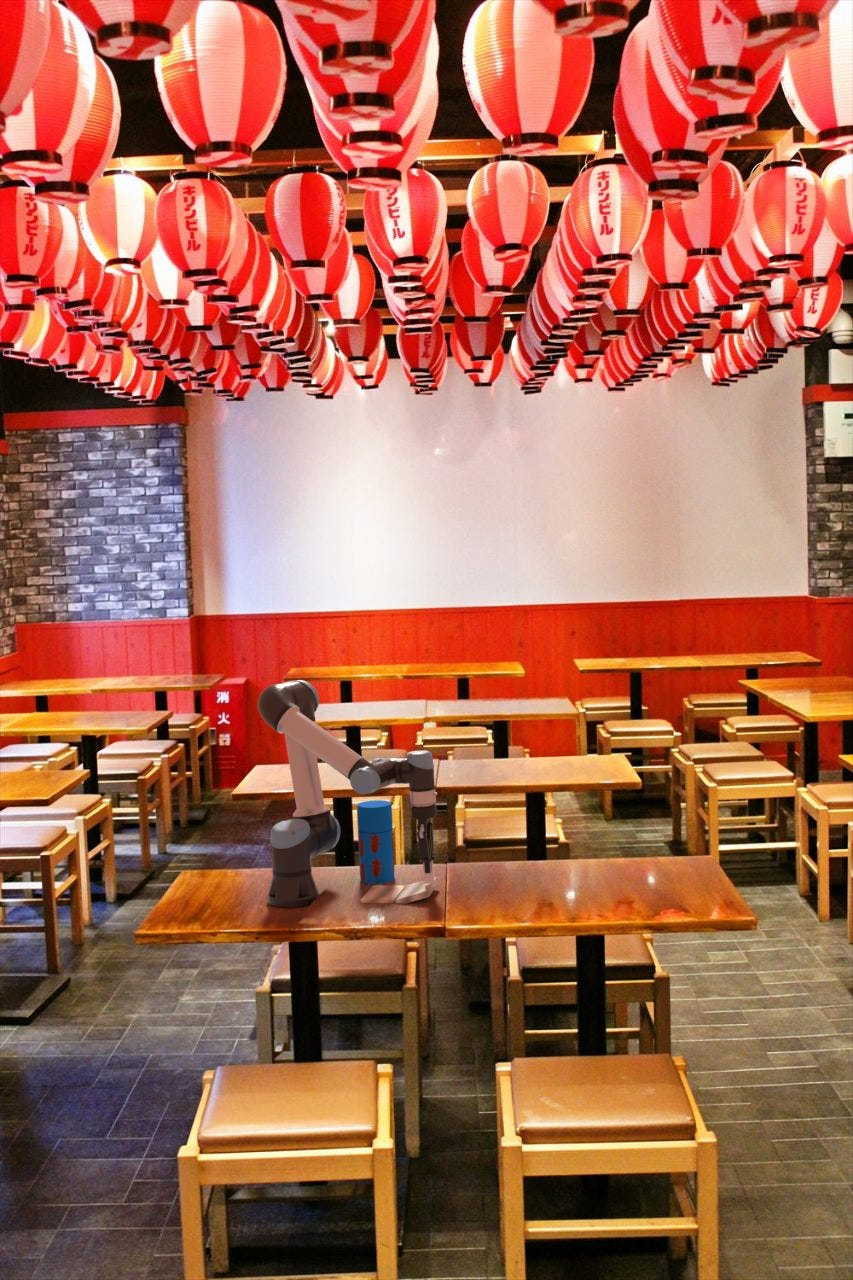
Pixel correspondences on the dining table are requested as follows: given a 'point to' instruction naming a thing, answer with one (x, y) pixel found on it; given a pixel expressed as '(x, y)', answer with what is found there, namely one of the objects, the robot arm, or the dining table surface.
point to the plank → (416, 891)
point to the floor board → (382, 894)
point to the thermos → (375, 841)
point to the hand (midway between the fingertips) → (429, 882)
